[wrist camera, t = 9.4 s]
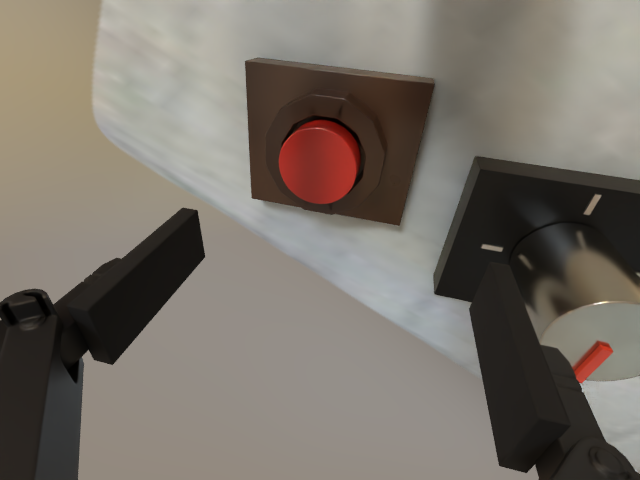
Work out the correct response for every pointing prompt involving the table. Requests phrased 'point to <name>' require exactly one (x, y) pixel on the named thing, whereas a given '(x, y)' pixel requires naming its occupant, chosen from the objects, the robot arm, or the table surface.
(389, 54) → the table surface
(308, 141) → the button
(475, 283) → the timer panel
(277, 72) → the box
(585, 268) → the timer dial
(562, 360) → the robot arm
